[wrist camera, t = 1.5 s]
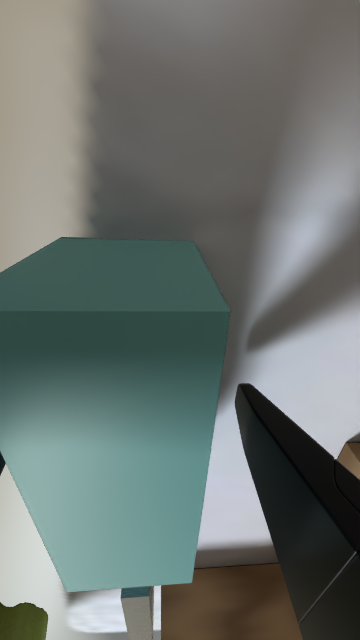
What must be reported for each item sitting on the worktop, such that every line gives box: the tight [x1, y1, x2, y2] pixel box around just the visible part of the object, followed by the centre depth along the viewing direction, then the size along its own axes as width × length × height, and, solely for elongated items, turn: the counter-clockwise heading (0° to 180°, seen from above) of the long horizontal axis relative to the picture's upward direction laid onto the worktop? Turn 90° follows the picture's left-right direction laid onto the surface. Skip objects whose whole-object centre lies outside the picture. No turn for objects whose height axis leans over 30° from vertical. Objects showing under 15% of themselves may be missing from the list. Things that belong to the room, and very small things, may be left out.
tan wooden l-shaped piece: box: [161, 443, 360, 640], centre depth 15 cm, size 11×16×4 cm
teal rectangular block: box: [0, 237, 231, 592], centre depth 8 cm, size 4×10×5 cm, turn 178°
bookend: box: [121, 586, 154, 640], centre depth 15 cm, size 4×9×4 cm, turn 178°
